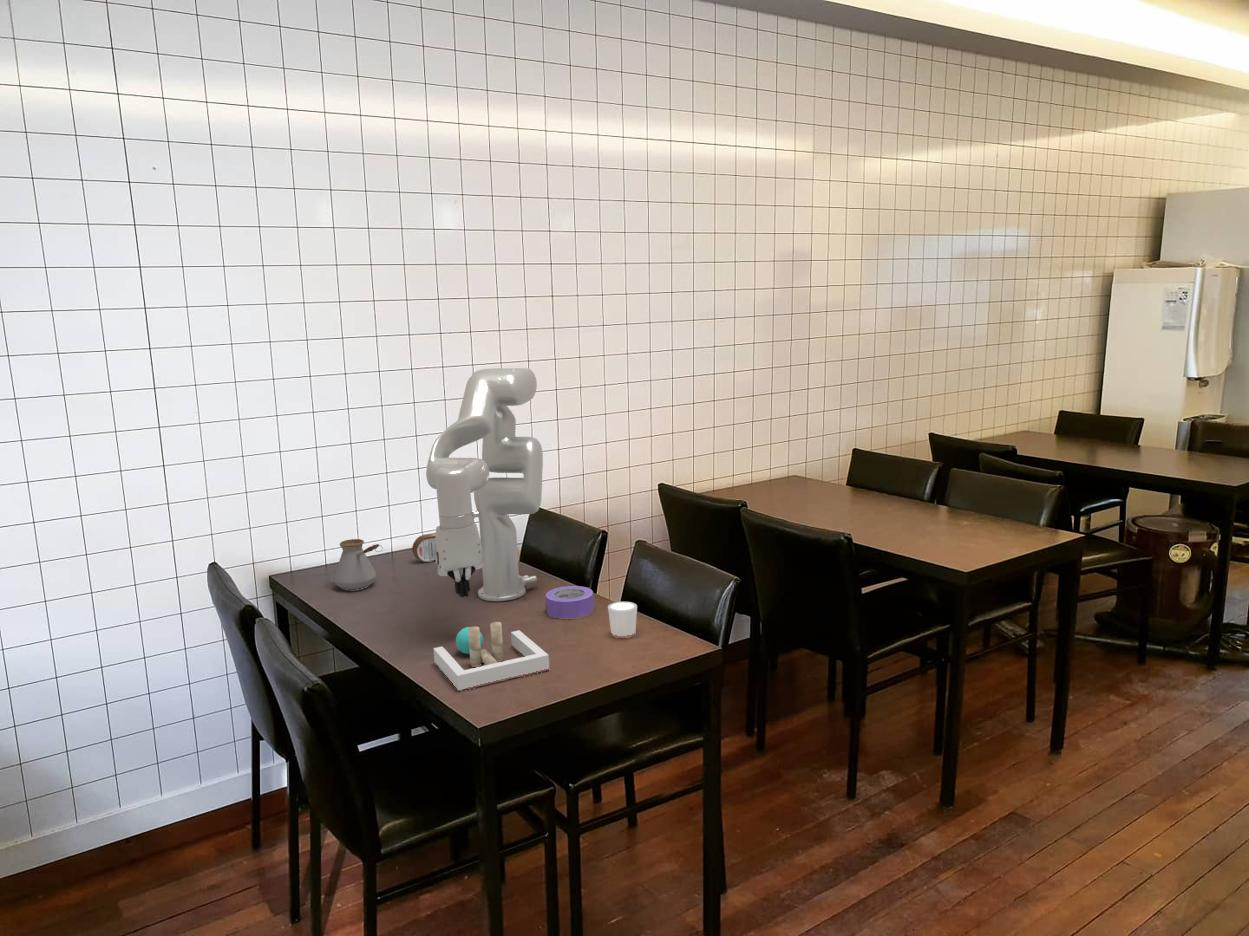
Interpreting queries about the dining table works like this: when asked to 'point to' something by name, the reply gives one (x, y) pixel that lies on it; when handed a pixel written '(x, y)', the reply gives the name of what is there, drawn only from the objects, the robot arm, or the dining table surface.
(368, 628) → the dining table surface
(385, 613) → the dining table surface
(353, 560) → the coffee pot
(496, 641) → the pin
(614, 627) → the white cup
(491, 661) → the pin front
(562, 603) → the tape roll
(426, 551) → the tin
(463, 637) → the ball
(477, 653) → the pin
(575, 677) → the dining table surface
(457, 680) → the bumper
